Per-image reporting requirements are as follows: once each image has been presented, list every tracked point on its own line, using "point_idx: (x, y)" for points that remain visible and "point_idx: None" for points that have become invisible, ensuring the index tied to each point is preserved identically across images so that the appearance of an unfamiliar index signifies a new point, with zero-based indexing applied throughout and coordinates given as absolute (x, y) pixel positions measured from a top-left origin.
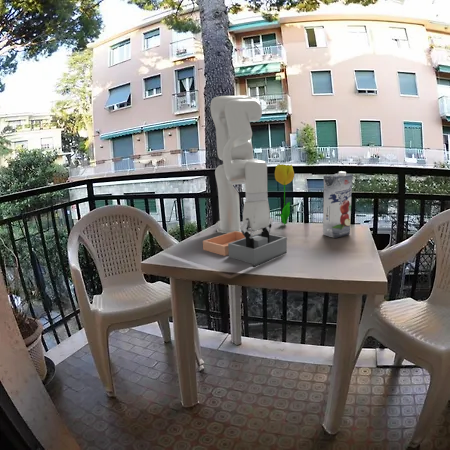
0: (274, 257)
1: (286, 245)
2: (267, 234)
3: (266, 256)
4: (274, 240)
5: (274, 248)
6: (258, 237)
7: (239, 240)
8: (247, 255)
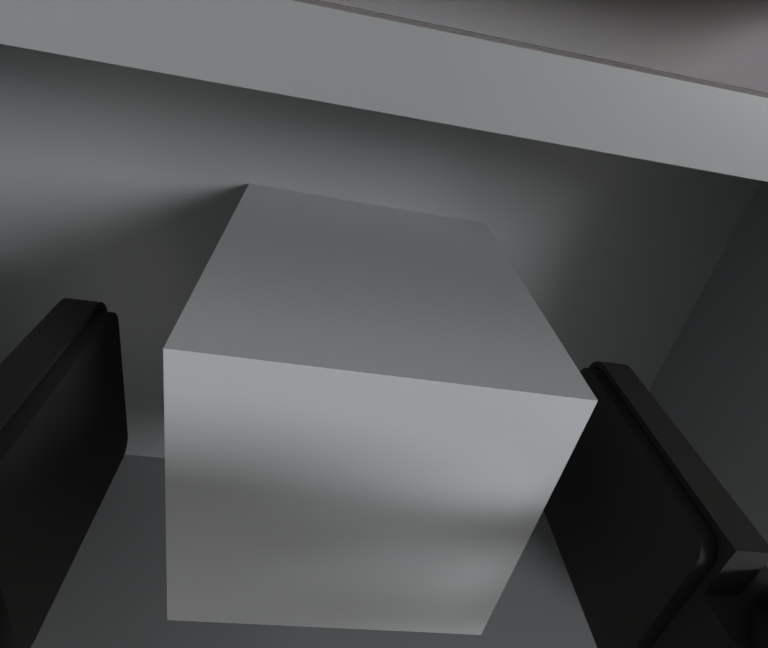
0: None
1: None
2: (602, 644)
3: None
4: (729, 484)
5: None
6: (425, 510)
7: (8, 30)
8: None
